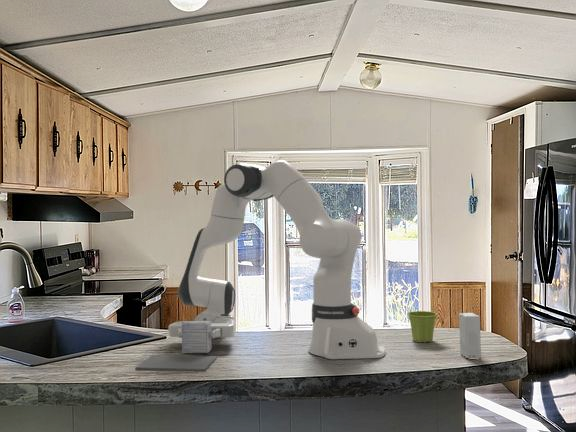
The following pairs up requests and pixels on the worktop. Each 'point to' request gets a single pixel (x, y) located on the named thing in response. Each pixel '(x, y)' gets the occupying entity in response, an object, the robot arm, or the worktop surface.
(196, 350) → the medicine box
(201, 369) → the mat
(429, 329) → the plant pot
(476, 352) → the skincare box
